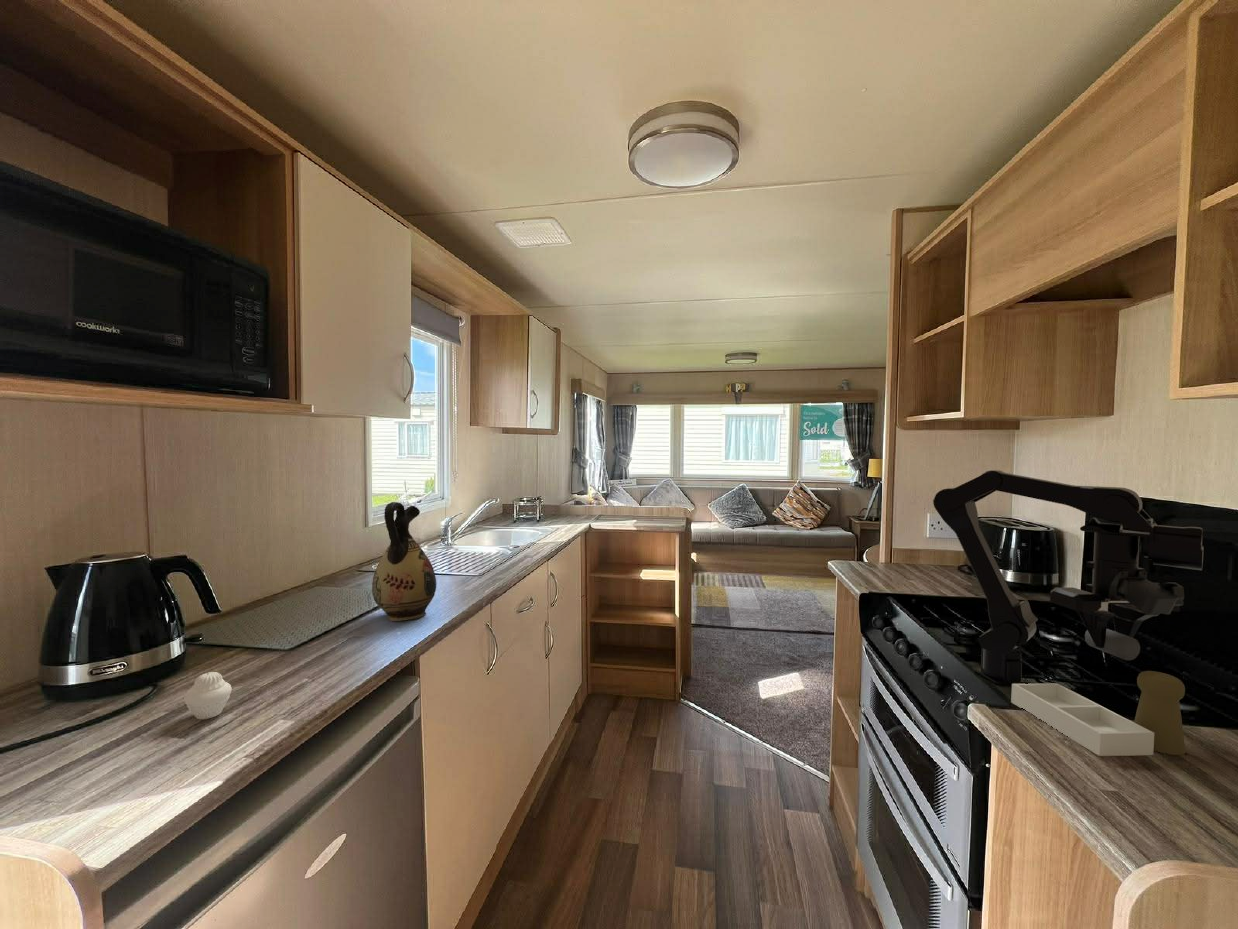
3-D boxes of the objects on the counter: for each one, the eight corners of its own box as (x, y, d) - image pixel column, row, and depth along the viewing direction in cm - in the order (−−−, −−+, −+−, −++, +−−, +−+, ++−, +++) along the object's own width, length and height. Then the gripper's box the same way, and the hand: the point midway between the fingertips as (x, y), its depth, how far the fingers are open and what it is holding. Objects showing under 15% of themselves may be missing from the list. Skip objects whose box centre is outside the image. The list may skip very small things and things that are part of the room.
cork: (1128, 729, 86) (1131, 663, 86) (1181, 742, 82) (1185, 673, 82) (1132, 745, 81) (1136, 675, 81) (1189, 760, 77) (1193, 687, 77)
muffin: (239, 703, 90) (238, 663, 89) (221, 722, 84) (220, 679, 83) (196, 707, 88) (196, 666, 88) (175, 726, 82) (175, 682, 82)
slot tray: (1011, 702, 94) (1011, 683, 94) (1056, 701, 95) (1057, 683, 95) (1099, 756, 78) (1100, 733, 78) (1153, 755, 79) (1154, 732, 78)
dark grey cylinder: (1084, 647, 95) (1085, 625, 95) (1105, 646, 96) (1106, 625, 95) (1117, 660, 89) (1118, 637, 89) (1139, 660, 90) (1140, 637, 89)
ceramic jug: (394, 605, 145) (395, 497, 144) (446, 609, 143) (447, 499, 142) (354, 625, 128) (353, 503, 127) (412, 630, 126) (412, 505, 125)
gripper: (1110, 570, 83) (1106, 667, 84) (1220, 570, 84) (1215, 666, 85) (1049, 555, 94) (1045, 641, 95) (1146, 556, 95) (1142, 640, 96)
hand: (1111, 647), depth 92 cm, fingers closed on dark grey cylinder, 4 cm apart
